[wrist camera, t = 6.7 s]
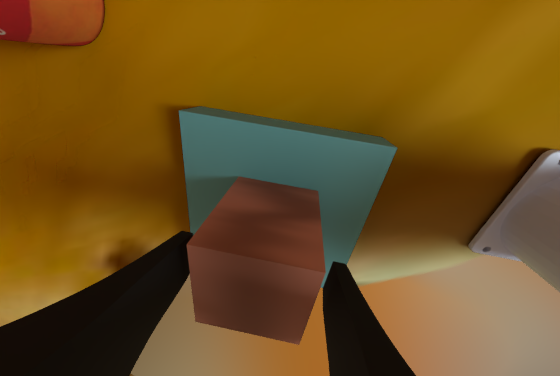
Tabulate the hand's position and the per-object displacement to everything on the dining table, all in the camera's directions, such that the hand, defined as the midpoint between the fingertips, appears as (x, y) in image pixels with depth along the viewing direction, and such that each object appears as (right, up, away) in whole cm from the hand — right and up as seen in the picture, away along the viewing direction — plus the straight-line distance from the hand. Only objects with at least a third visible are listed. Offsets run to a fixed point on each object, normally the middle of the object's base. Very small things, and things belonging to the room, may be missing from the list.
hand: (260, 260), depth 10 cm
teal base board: (+1, +3, +6) cm, 7 cm away
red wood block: (+1, +2, +3) cm, 4 cm away
